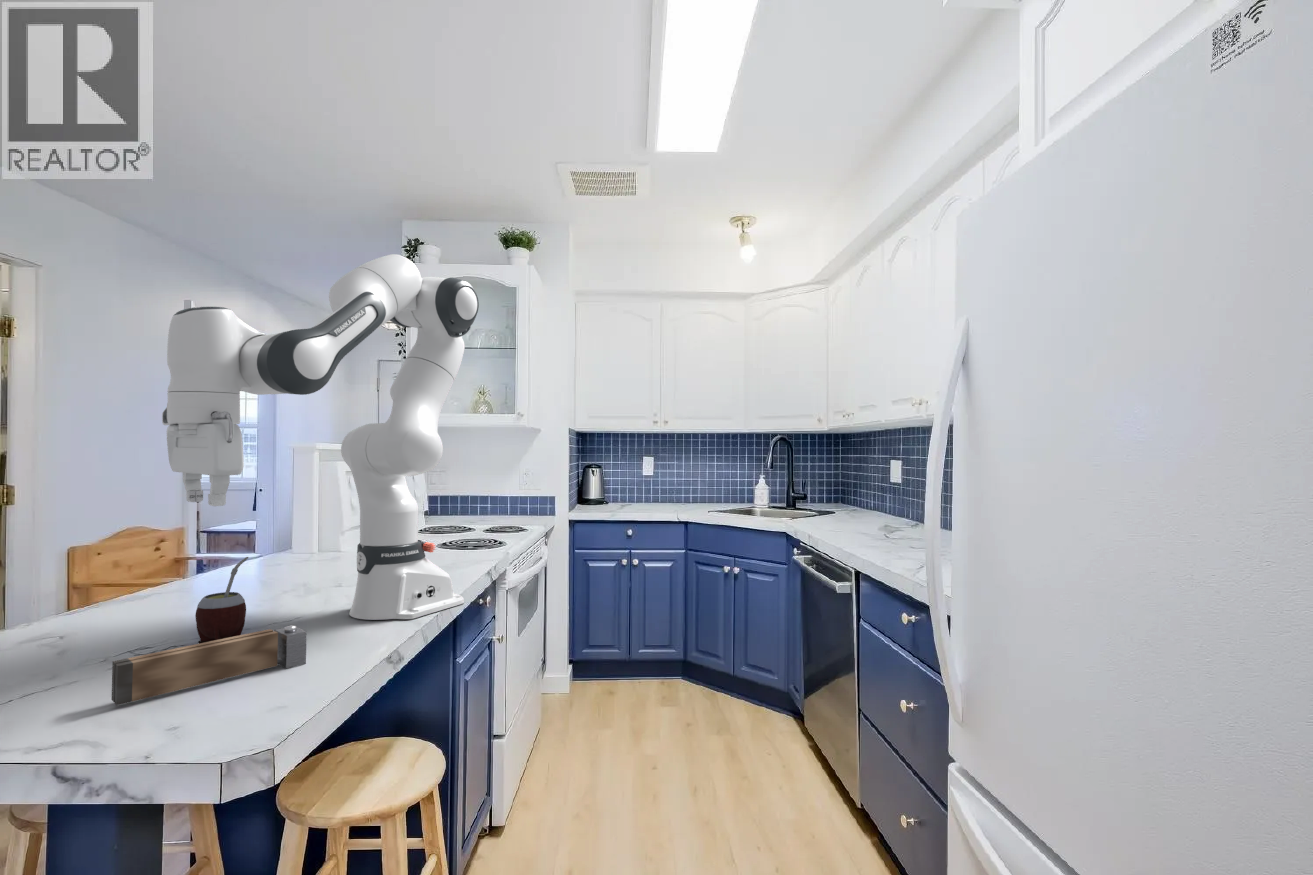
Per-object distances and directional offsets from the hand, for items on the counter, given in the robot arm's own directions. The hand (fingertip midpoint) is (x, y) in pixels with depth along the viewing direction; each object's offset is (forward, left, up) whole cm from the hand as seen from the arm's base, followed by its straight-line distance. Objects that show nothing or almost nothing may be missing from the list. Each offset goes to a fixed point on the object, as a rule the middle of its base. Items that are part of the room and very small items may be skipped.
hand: (205, 503), depth 92 cm
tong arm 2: (+2, +8, -24) cm, 26 cm away
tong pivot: (-9, +7, -25) cm, 28 cm away
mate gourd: (-7, -13, -25) cm, 29 cm away
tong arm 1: (+2, +6, -24) cm, 25 cm away
